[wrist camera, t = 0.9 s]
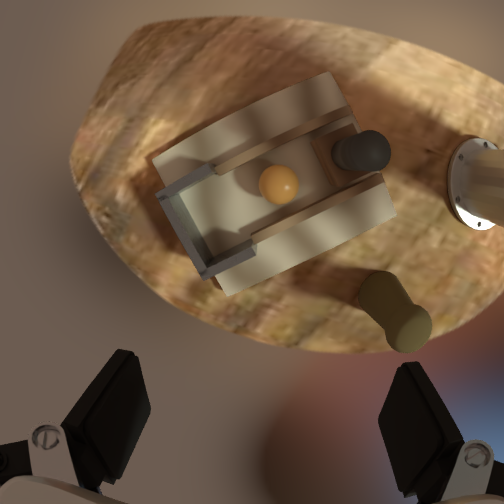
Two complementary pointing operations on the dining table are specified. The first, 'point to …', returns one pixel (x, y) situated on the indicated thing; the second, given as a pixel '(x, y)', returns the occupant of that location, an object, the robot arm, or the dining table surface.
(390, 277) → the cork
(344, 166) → the player block
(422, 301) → the dining table surface
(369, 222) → the lane board
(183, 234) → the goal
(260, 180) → the ball
